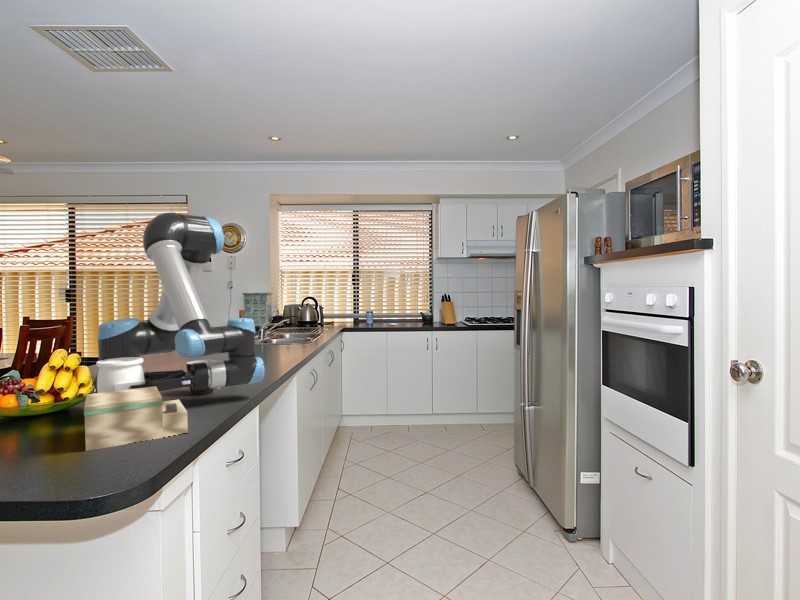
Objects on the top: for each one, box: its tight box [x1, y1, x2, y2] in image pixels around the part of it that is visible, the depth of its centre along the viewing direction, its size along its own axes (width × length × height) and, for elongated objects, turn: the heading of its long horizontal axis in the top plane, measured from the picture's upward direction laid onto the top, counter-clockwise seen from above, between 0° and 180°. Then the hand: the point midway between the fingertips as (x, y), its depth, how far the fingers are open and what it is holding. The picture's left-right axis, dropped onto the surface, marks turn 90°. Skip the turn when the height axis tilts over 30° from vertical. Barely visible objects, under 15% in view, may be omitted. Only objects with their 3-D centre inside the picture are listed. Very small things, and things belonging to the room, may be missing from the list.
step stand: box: [83, 386, 189, 452], centre depth 102 cm, size 19×14×9 cm
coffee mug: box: [185, 359, 217, 397], centre depth 143 cm, size 12×9×10 cm
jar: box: [96, 356, 145, 393], centre depth 115 cm, size 11×10×15 cm
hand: (114, 385), depth 114 cm, fingers closed on jar, 10 cm apart
